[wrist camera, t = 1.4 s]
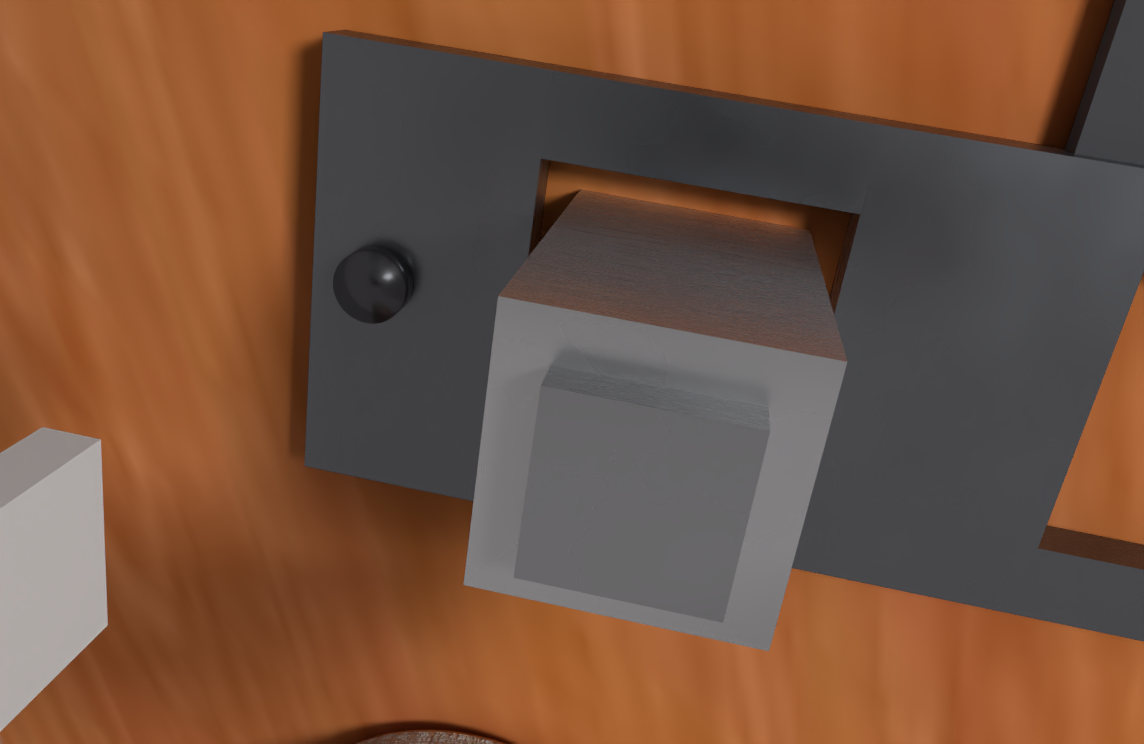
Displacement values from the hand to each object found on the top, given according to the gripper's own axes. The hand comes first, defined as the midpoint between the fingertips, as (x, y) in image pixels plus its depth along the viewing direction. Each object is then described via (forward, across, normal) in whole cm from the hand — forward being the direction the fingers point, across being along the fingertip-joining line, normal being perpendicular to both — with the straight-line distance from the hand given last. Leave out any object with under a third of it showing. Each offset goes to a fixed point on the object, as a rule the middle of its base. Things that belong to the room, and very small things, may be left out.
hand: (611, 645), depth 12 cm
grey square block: (+12, 0, 0) cm, 12 cm away
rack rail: (+12, +6, 0) cm, 13 cm away
